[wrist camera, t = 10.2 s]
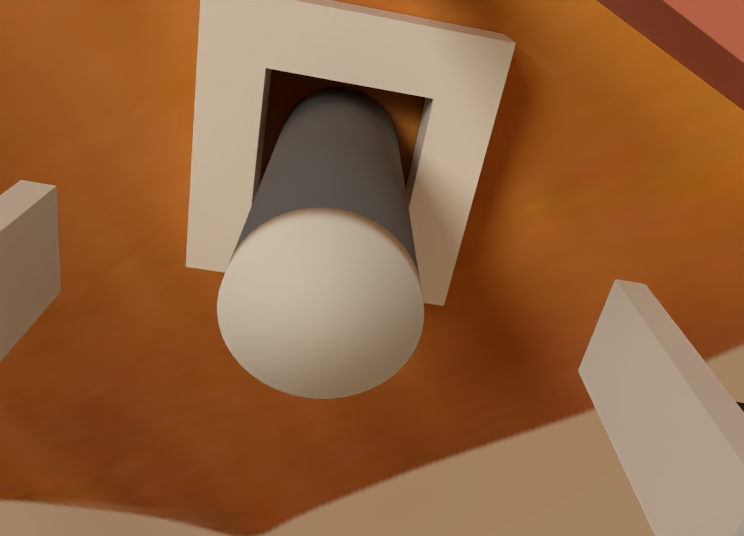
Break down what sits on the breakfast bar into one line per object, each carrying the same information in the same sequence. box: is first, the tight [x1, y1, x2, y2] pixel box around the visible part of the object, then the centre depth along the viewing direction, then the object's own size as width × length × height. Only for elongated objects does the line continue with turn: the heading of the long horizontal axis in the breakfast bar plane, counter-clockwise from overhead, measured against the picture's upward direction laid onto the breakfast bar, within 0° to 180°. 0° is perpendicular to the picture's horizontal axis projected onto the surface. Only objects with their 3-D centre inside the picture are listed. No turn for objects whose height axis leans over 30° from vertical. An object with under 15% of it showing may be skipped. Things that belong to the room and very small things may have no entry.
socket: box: [186, 0, 516, 306], centre depth 17 cm, size 10×16×13 cm, turn 170°
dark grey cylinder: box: [217, 87, 424, 399], centre depth 19 cm, size 4×4×12 cm
